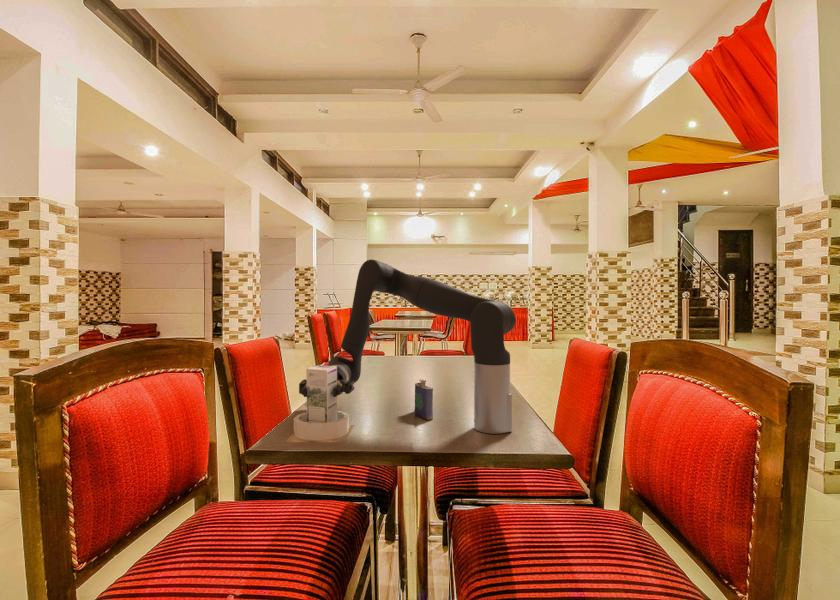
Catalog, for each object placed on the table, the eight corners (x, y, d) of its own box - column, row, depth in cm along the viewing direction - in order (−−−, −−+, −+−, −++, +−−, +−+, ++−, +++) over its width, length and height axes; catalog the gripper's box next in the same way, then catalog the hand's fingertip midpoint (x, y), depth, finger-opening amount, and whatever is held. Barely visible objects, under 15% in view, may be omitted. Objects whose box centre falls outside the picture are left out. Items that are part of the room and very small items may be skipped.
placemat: (354, 427, 117) (354, 425, 117) (345, 444, 103) (345, 442, 103) (301, 427, 117) (301, 424, 117) (284, 444, 103) (284, 441, 103)
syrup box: (338, 422, 112) (337, 365, 112) (327, 429, 107) (327, 369, 107) (317, 421, 114) (317, 364, 114) (305, 427, 108) (305, 368, 108)
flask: (434, 420, 124) (434, 381, 125) (425, 421, 123) (424, 382, 123) (420, 412, 133) (420, 376, 133) (411, 413, 132) (411, 377, 132)
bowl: (352, 425, 117) (352, 410, 117) (343, 441, 104) (343, 424, 104) (302, 425, 117) (302, 410, 117) (287, 441, 104) (287, 424, 104)
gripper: (308, 366, 125) (290, 377, 108) (359, 366, 124) (349, 377, 108) (308, 393, 125) (290, 408, 108) (359, 393, 125) (349, 408, 108)
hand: (319, 392), depth 108 cm, fingers closed on syrup box, 6 cm apart
